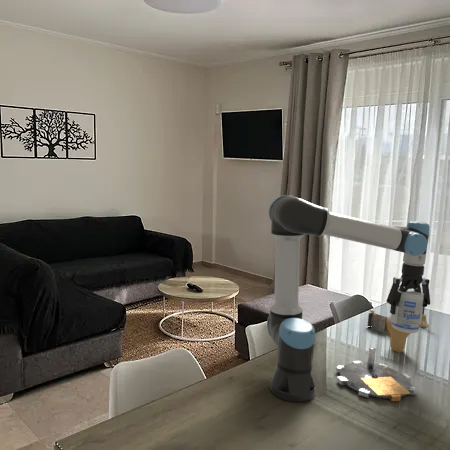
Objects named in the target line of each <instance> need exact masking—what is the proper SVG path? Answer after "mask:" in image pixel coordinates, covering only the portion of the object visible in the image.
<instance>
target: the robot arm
mask: <svg viewBox="0 0 450 450" xmlns="http://www.w3.org/2000/svg"><path fill="white" fill-rule="evenodd" d="M268 215H269V216H268V217H269V219H270V222H271V225H270V226H271V227H270V228H271V232H270V233H271V234H270V235H272V236H273V237H274V238H275V242H274V243H275V244H274V245H275V248H274V249H275V251H274V253H275V254H274V255H275V256H274V257H275V258H274V296H273V297H274V301H273V302H274V303H273V304H271V306H270V307H269V315H268V317H267V321H266V327H267V332H268V335H269V336H270V337H271V339H272V340H273V342H274V344H275V345H276V346H277V360H276V367H275V370H274V372H273V374H272V377H271V379H270V382H269V390H270V389H271V390H270V392H271V391H272V392H271V393H272V395H274V396H275V397H276V398H278V397H279V399H281V400H283V401H288V402H291V403H292V402H294V403H303V401H304V402H308V401H311V400H312V399H314V398H315V396H316V389H317V388H316V384H315V379H314V375H313V362H314V353H315V352H314V351H315V342H316V329H315V327H314V325H313V324H312V323H311V322H309V321H307V320H305V319H303V308H302V307H301V306H300V305H299V299H300V298H299V294H300V260H301V259H300V253H301V239H302V238H303V237H304V236H305V235H309V236H314V237H321V236H322V237H323V235H325V236H328V237H334V238H338V239H343V240H347V241H351V242H356V243H360V244H364V245H365V244H366V245H368V246H369V245H370V246H374V247H377V248H383V249H387V250H391V251H395V252H400V253H403V257H402V264H401V276H400V277H396V276H395V277H393V278H392V285H391V288H390V290H389V293H388V296H387V298H386V301H385V303H388V304H389V305H390V308H389V309H390V310H389V312H390V314H391V322H393V323H394V324H397V316H398V309H399V307H398V306H397V304H398V303H399V301H400V298H401V294H402V293H399V292H398V289H399V291H401V292H406V291H407V290H408V289H414V291H416V292H420V293H423V294H424V295H423V297H424V298H423V305H422V312H421V318H420V324H421V320H422V314H425V309H426V308H427V307H428V306H430V305H431V296H430V279H429V278H426V277H423V276H424V274H425V273H424V272H425V264H426V259H427V251H428V244H429V239H430V238H429V237H430V224H429V223H427V222H423V221H414V220H413V221H408V222H407V225H406V226H397V225H386V224H382V223H378V222H374V221H370V220H366V219H362V218H358V217H353V216H348V215H343V214H340V213H337V212H332V211H329V210H328V208H327V207H323V206H320V205H317V204H315V203H312V202H310V201H307V200H306V199H303V198H301V197H300V198H299V197H296V196H294V195H290V194H285V195H279V196H277V197H276V198H275V199H273V201H272V202H271V203H270V206H269V209H268ZM313 397H314V398H313ZM310 399H311V400H310Z"/></svg>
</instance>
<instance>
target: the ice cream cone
mask: <svg viewBox="0 0 450 450" xmlns="http://www.w3.org/2000/svg"><path fill="white" fill-rule="evenodd" d="M386 323H387V325H388V327H387V329H388V331H389V332H390V335H389V336H390V339H389V341H390V343H389V344H390V346H389V347H390V348H391V350H392V352H396V353H402V352H403V351H404V349H405V346H406V342H407V338H408V336H410V335H411V334H412V333H405V332H401V331H398V330H396V329H394V328H393V327H392V322H391V315H389V316H388V319H387V321H386Z"/></svg>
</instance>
